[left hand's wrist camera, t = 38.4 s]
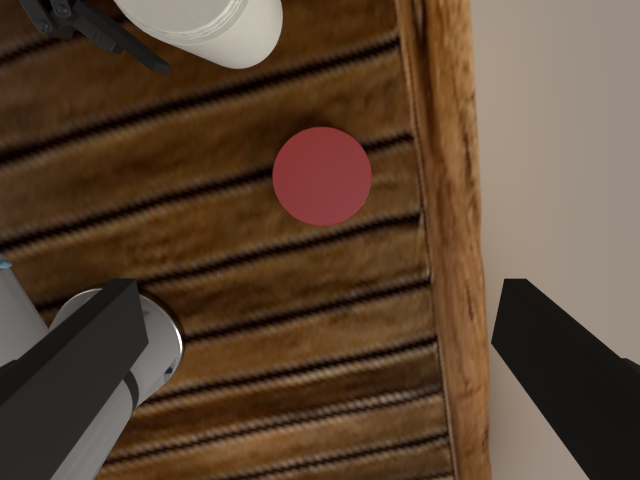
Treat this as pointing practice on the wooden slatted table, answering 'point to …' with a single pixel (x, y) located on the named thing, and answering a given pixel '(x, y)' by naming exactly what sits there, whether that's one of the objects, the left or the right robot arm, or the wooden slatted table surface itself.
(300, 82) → the wooden slatted table surface
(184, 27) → the jar
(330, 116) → the wooden slatted table surface
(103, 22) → the right robot arm
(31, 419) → the left robot arm
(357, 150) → the lid
